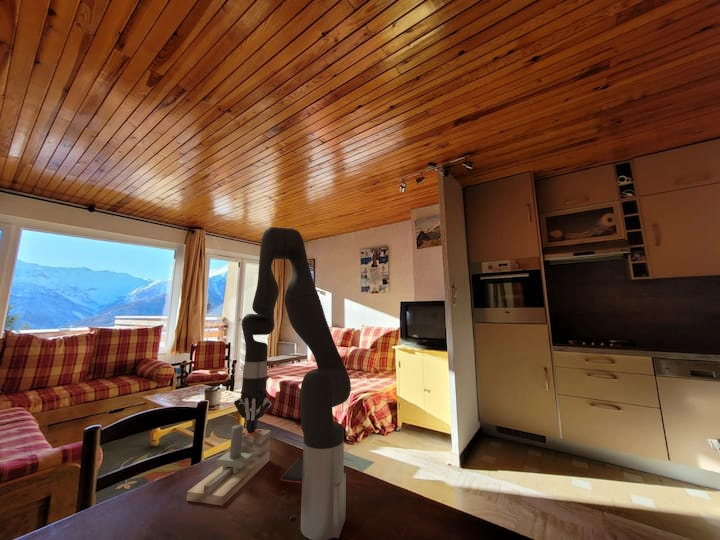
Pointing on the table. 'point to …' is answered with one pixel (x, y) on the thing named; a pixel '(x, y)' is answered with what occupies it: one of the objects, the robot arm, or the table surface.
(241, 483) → the rail base
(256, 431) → the button
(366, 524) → the table surface
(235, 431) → the carriage
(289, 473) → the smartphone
